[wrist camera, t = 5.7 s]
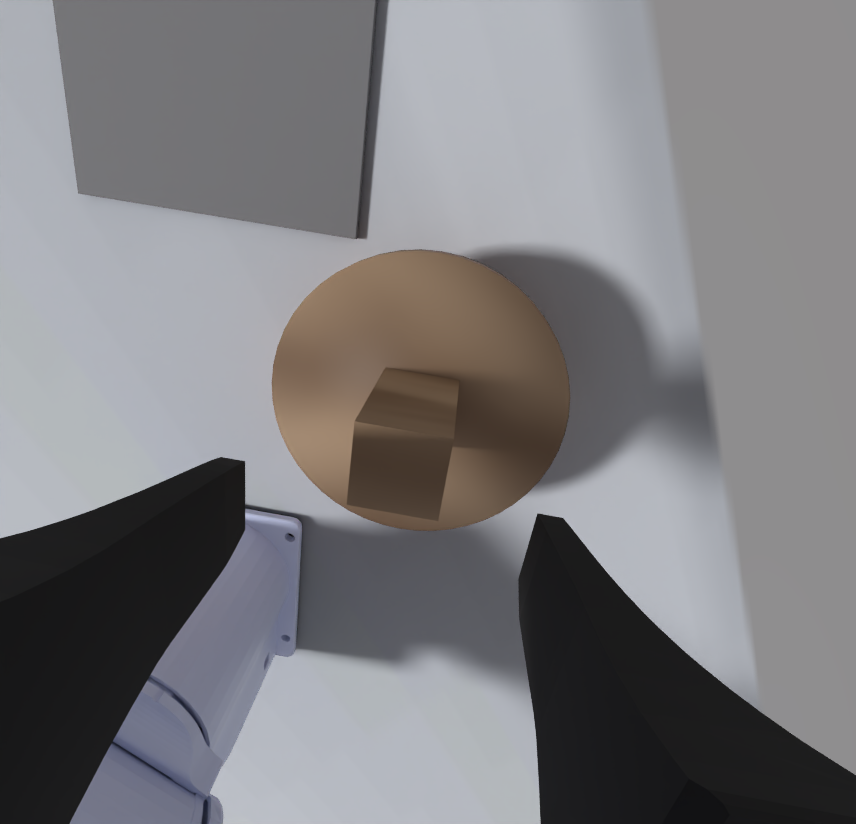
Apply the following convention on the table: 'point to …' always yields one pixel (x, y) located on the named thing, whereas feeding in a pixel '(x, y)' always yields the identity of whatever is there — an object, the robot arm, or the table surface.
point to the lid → (421, 390)
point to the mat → (222, 105)
